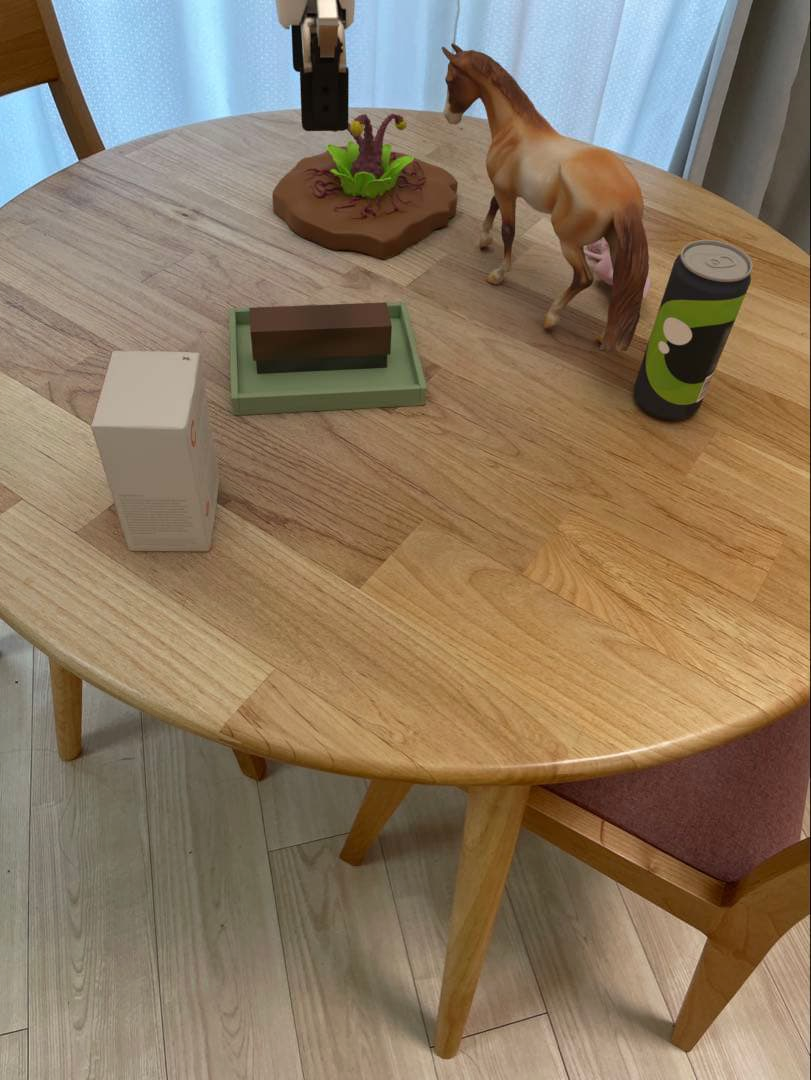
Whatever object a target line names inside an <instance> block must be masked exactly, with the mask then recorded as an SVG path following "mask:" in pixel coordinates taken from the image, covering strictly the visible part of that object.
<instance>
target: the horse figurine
mask: <svg viewBox="0 0 811 1080" xmlns="http://www.w3.org/2000/svg"><path fill="white" fill-rule="evenodd" d="M450 46H451V48H452V49H453V51H454V53H452V52H451V51H450V50H448V49H447V48H446V47H445V46H441V50H442V53H443V54H444V56H445V57H446V58H447V60H448V61H449V62H448V63H447V73H446V76H445V77H444V80H445V83H446V86H447V88H446V99H445V104H444V109H443V110H442V114H443V117H444V119H446V120H447V123H448V124H449V125H456V126H457V125H459V124H460V123H461V121H462V119H463V118H462V117H463V115H464V114H465V113H466V112H467V111H468V110H469V108H471V106H472V105H473V104H474V103H475V102H476V101H477V100H478V99H480V100H481V102H482V105H483V106H484V109H485V113H486V118H487V121H488V125H489V130H490V136H491V143H490V145H489V147H488V150H487V154H486V159H485V168H486V173H487V176H488V178H489V180H490V182H491V184H492V186H493V194H494V195H493V196H492V198H491V199H490V202H489V209H488V212H487V214H486V216H485V218H484V220H483V222H482V231H481V233H480V240H479V242H478V247H479V248H484V247H487V246H489V245H492V244H493V240H494V237H493V234H492V233H491V230H492V229H493V228H494V227H493V226H494V221H495V219H496V216H497V213H498V211H499V212H500V216H501V226H500V231H501V233H500V234H501V239H502V242H503V257H502V261H501V263H500V266H499V268H495V269H493V270H492V271H491V272H490V273H489V274H488V276H487V277H486V281H487V282H488V283H490V284H493V285H500V284H502V282H503V280H505V274H508V273H510V272H511V270H512V267H513V266H512V250H513V243H514V239H515V236H516V210H517V209H516V208H517V198H521V199H523V200H524V202H526V204H528V205H529V206H530V207H531V208H532V209H533V210H535V211H537V212H538V213H539V212H540V213H542V214H545V215H550V223H551V225H552V229H553V231H554V234H555V236H556V237H557V238H558V240H559V244H560V250H561V253H562V255H563V257H564V259H565V260H566V262H567V263H568V264H569V266H570V267H571V268H572V270H573V276H572V281H571V283H570V285H569V286H568V287H567V288H566V290H565V291H564V292H563V293H561V294H560V295H559V296H558V297H557V298H555V299H554V300H553V301H552V303H551V306H550V308H549V310H548V311H547V313H546V315H545V320H544V323H543V328H544V329H548V328H551V327H553V326H555V325H558V324H559V323H560V315H559V312H561V311H564V309H565V308H566V307H567V305H568V304H569V303H570V302H571V301H572V300H573V299H574V298H575V297H576V296H577V295H578V294H580V293H581V292H582V291H584V290H587V289H588V288H590V287H591V286H592V285H593V282H594V280H595V275H594V274H593V271H592V270H591V268H590V267H589V264H588V262H587V258H586V255H585V254H584V250H583V249H584V247H585V246H586V247H587V245H589V244H592V243H595V242H597V241H599V240H600V239H601V238H603V237H604V239H605V240H606V241H607V243H608V245H609V250H610V257H611V263H612V268H613V286H612V289H611V292H610V295H609V301H608V310H607V319H606V326H605V329H604V330H603V331H602V332H601V333H599V335H598V336H597V337H596V338H597V341H599V343H600V345H599V347H598V351H599V352H602V351H605V352H606V353H607V352H610V351H611V350H612V349H614V350H615V351H616V352H617V353H620V352H626V351H628V348H629V347H630V346H631V343H632V340H633V339H634V335H635V333H636V330H637V325H638V323H639V320H640V317H641V307H642V302H643V300H644V299H643V292H644V287H645V284H646V279H647V276H648V275H649V269H650V264H649V261H650V255H649V244H648V239H647V235H646V230H645V227H644V223H643V215H644V209H645V203H644V202H645V201H644V197H643V193H642V190H641V189H642V188H641V186H640V185H639V182H638V181H637V179H636V178H635V176H634V175H633V173H632V172H631V171H630V169H629V168H628V166H626V164H625V163H624V162H623V160H622V159H621V158H620V157H619V156H618V155H617V154H615V153H614V152H612V151H611V150H609V149H607V148H603V147H597V146H589V145H586V144H582V143H580V142H577V141H574V140H572V139H570V138H567V137H565V136H563V135H562V134H560V133H559V132H558V131H557V130H556V129H555V128H554V127H553V126H552V125H551V124H550V123H549V121H548V120H547V119H546V118H545V117H544V116H543V115H542V114H541V113H540V112H539V111H538V110H537V108H536V107H535V105H534V103H533V101H532V100H531V99H530V98H529V96H528V94H527V93H526V92H525V91H524V90H523V89H522V87H521V86H520V85H519V84H518V82H517V80H516V79H515V78H514V77H513V75H511V74H510V73H509V72H508V70H506V69H505V68H504V67H503V66H502V65H501V64H500V63H499V62H498V61H496V60H495V59H494V58H493V57H492V56H490V55H488V54H486V53H484V52H481V51H476V50H474V49H469V50H464V49H462V48H461V47H460V46H459V45H457V44H455V43H454V42H452V43H451V44H450Z"/></svg>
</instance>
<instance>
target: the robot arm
mask: <svg viewBox="0 0 811 1080" xmlns="http://www.w3.org/2000/svg"><path fill="white" fill-rule="evenodd" d="M275 7H276V14H277V19H278V20H277V21H278V23H279V24H280V25H281V27H282V28H283V29H285V30H290V27H291V50H292V51H291V53H292V54H291V55H292V67H293V68H292V69H293V70H294V71H295V72H297V73H299V86H300V87H299V88H300V89H299V90H300V115H301V126H302V129H303V130H304V131H305V132H332V131H337V132H343V131H346V130H347V128H348V123H349V79H350V77H349V75H350V74H349V71H350V70H349V67H348V66H347V52H346V51H347V50H346V32H345V31H346V30H347V29H348V28H350V27H351V26H352V25H353V23H354V20H355V7H356V0H275Z"/></svg>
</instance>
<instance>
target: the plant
mask: <svg viewBox="0 0 811 1080" xmlns="http://www.w3.org/2000/svg"><path fill="white" fill-rule="evenodd" d="M393 119H394V125H395V127H396V129H397V130H399V131H404V130H405V129H406V128H407V120H406V118H404V116H402V115H400V114H395V113H391V114H389V115H387V117H385V118H384V120H383V121H381V124H380V125H379V127H378V128H379V129H377V132H376V134H375V136H374V135H373V125H372V124H371V119H370V118H369V117H368V114H365V113H363V114H360V115H358V116H357V117H355V118H354V119H353V120H352V122H351V123H349V122H348V128H347V129H346V130H347V132H349V134H350V135H351V136H352V137H353V139H354V141H352V140H348V141H347V143H346V145H345V146H343V145H342V146H339V145H338V146H337V145H334V144H328V143H327V145H326V151H324V152H322V153H319V154H317V155H312V156H308V157H304V158H301V160H299V161H298V162H297V163H296V165H295V166H294V167H292V168H291V170H290V171H288V172H287V173H285V175H284V176H283V177H282V178H281V179H280V180H279V181H278V182H277V184H276V186H275V187H274V189H273V190H272V194H271V196H272V197H271V198H272V210H273V213H274V214H276V216H277V217H279V218H281V219H282V220H283V221H284V222H286V223H287V225H288V227H289V228H290V230H291V231H292V232H293V233H295V234H297V235H298V236H300V237H301V238H303V239H305V240H308V241H311V242H313V243H316V244H318V245H320V246H322V247H325V248H327V249H329V250H333V251H352V252H353V251H355V252H357V253H358V252H359V253H362V254H365V255H368V256H371V257H375V258H377V259H380V260H383V261H384V260H386V259H388V258H390V257H395V256H397V255H399V254H401V253H402V252H403V251H404V250H405V249H407V248H408V247H410V246H412V245H414V244H417V243H420V242H422V241H423V240H424V239H425V238H427V237H428V236H429V234H431V232H433V231H434V230H437V229H441V228H446V227H448V226H449V223H450V222H449V221H450V218H449V217H450V216H453V215H454V214H455V213H456V214H457V206H458V195H457V194H458V193H457V192H458V187H459V185H458V180H457V179H456V177H454V176H453V174H452V173H450V172H449V171H448V170H447V169H444V168H442V167H439V166H437V165H434V164H431V163H429V162H426V161H423V160H421V159H419V158H417V157H414V156H413V155H408V154H406V153H403V152H399V151H392V144H391V143H386V144H384V137H385V133H386V130H387V128H388V126H389V123H390V122H392V120H393ZM331 132H333V133H337V132H338V131H331ZM362 134H363V137H362ZM456 214H455V215H456ZM453 217H454V216H453ZM445 226H446V227H445Z"/></svg>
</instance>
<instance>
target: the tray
mask: <svg viewBox="0 0 811 1080" xmlns="http://www.w3.org/2000/svg"><path fill="white" fill-rule="evenodd" d="M386 302H387V306H388V310H389V315H390V319H391V324H392V334H391V354H390V355H388V356H387V368H370V369H349V370H329V371H308V372H287V373H267V374H257V365H256V361H253V353H252V343H251V333H250V314H249V308H250V307H231V308H228V328H229V330H228V331H229V363H230V365H229V366H230V367H229V369H230V399H231V401H230V402H231V408H232V415H233V416H247V415H268V414H269V415H270V414H283V413H285V414H286V413H287V414H288V413H305V412H323V411H341V410H359V409H360V410H361V409H376V408H377V409H378V408H380V409H381V408H395V407H398V408H399V407H413V406H415V407H416V406H426V403H427V393H428V387H427V382H426V378H425V374H424V371H423V366H422V361H421V358H420V353H419V350H418V346H417V342H416V337H415V334H414V330H413V326H412V323H411V317H410V314H409V310H408V309H409V308H408V306H407V301H389V302H388V301H386Z"/></svg>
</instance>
